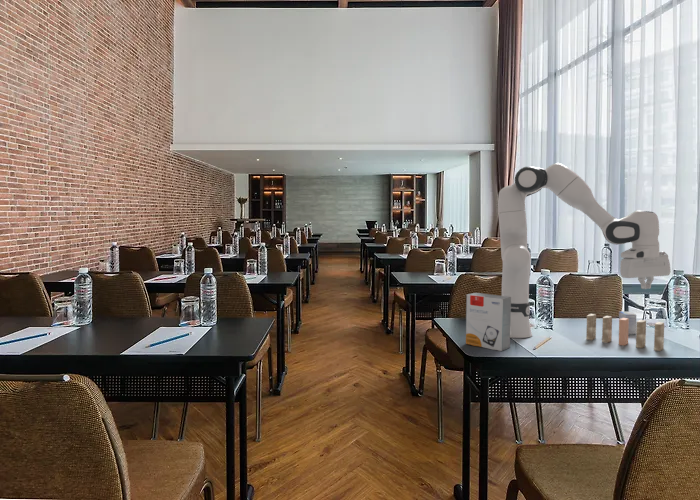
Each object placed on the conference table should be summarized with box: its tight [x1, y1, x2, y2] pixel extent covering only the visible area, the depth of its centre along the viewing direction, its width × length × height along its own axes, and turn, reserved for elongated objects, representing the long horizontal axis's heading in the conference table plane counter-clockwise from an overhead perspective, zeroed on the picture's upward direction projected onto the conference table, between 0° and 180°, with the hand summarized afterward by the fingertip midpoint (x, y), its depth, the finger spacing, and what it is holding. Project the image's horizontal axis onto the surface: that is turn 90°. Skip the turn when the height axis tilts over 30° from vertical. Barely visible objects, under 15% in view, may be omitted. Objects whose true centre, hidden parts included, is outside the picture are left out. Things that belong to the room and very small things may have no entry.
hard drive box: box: [465, 292, 511, 352], centre depth 183 cm, size 16×8×20 cm, turn 46°
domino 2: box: [601, 315, 613, 343], centre depth 190 cm, size 2×5×10 cm, turn 135°
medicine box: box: [618, 310, 637, 335], centre depth 206 cm, size 8×4×9 cm, turn 168°
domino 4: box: [635, 319, 647, 349], centre depth 182 cm, size 2×5×10 cm, turn 135°
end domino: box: [653, 321, 665, 352], centre depth 177 cm, size 2×5×10 cm, turn 135°
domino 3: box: [618, 318, 629, 346], centre depth 186 cm, size 2×5×10 cm, turn 135°
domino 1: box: [585, 313, 597, 341], centre depth 194 cm, size 2×5×10 cm, turn 135°
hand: (645, 288), depth 180 cm, fingers closed
